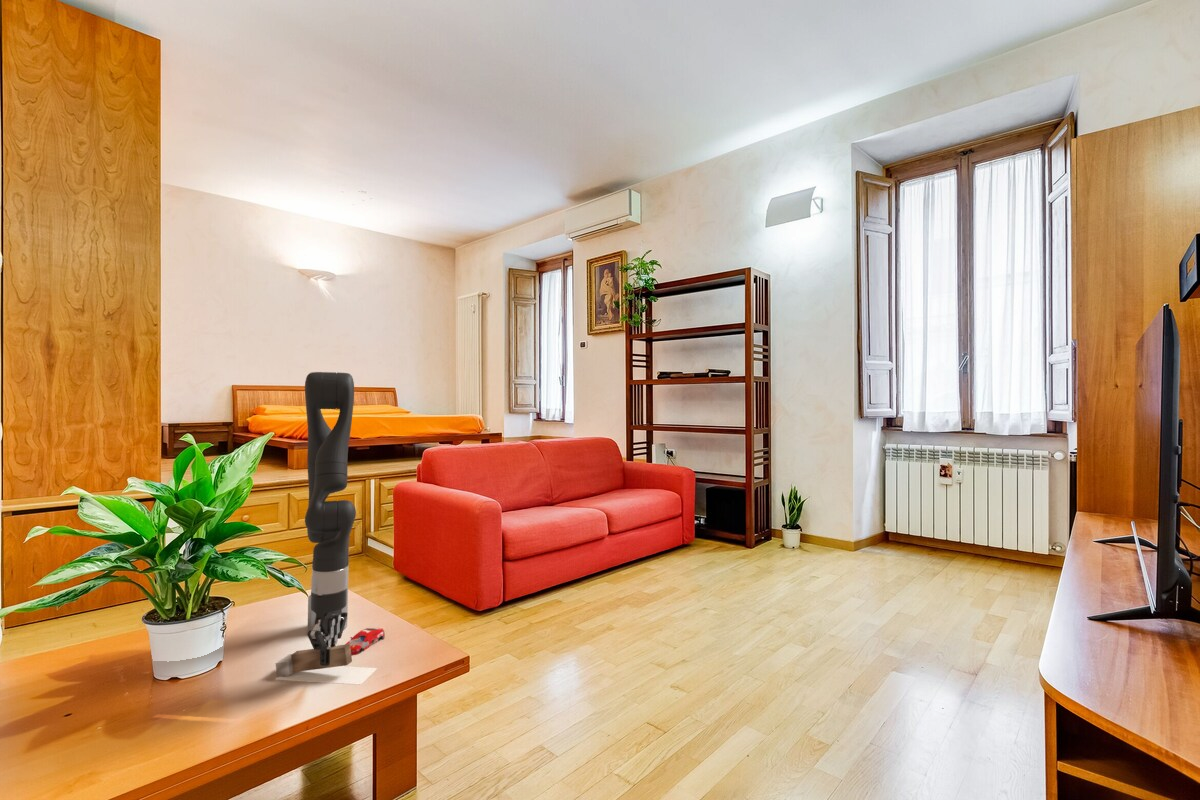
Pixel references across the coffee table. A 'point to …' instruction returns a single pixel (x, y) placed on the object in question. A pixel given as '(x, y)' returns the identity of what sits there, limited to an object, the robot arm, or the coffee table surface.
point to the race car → (365, 639)
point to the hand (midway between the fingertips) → (327, 662)
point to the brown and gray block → (313, 660)
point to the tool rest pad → (332, 675)
